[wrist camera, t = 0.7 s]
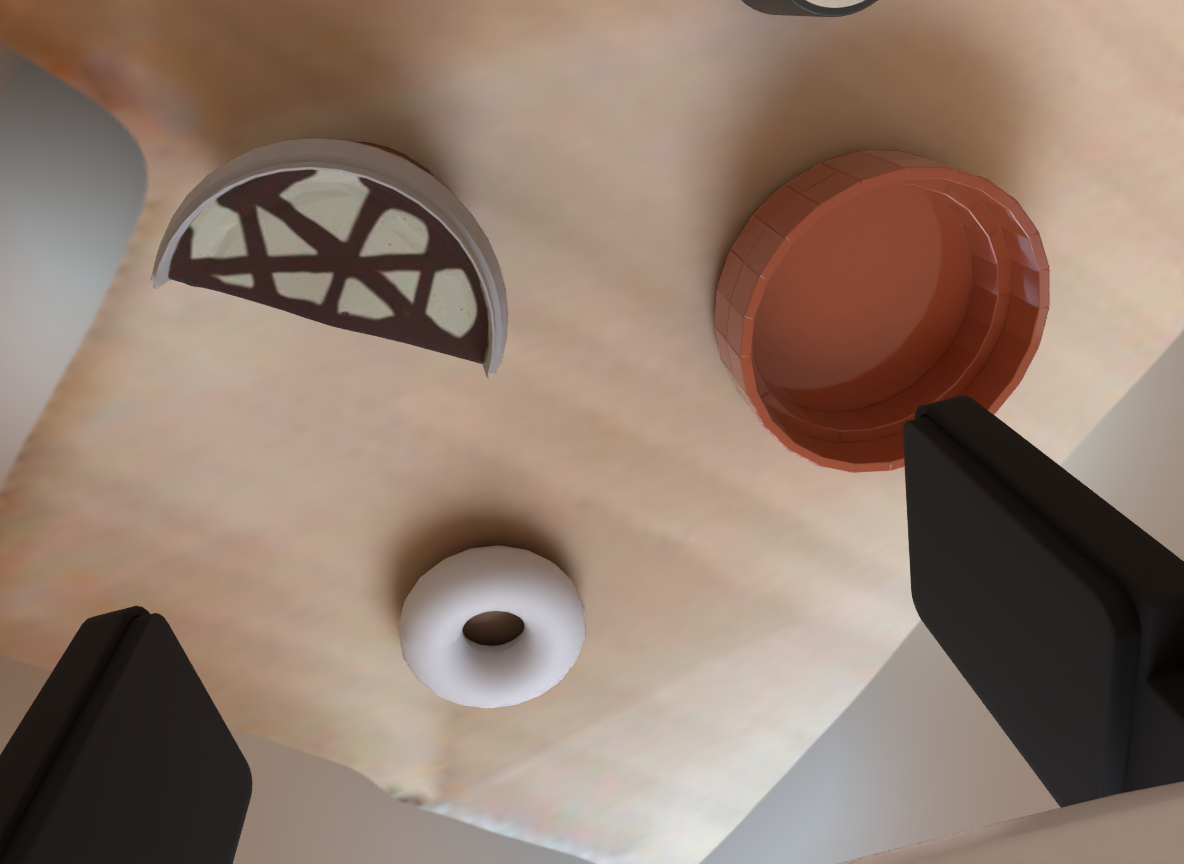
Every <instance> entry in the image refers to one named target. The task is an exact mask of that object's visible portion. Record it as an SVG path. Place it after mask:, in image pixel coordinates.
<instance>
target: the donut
mask: <svg viewBox="0 0 1184 864" xmlns="http://www.w3.org/2000/svg"><path fill="white" fill-rule="evenodd" d="M489 611H504V612H509V613H512V614H514V615H516V616H518V617H520V618H521V619H522V620H523V622H524V626H525V627H524V630H523V632H522V633H521V635H519V636H518V637H517V638H515V639H514V640H512V641H510V642H507V643H505V644H502V645H494V646H488V645H480V644H477V643H475V642H473V641H470V640H469V639H468V638H466V637H465V635H464V633H463V631H462V628H463V626H464V625H465V623H466V622H467V621H468V620H469V619H471V618H472V617H473V616H476V615H478V614H481V613H483V612H489ZM398 630H399V637H400V642H401V648H402V654H403V658H404V660H405V661H406V663H407V664H408V666H409V667H410V669H411V670H412V672H413V674H414V675H415V677H416V678H417V679H418V681H419V682H421V683H422V684H423V685H424V686H426V687H427V688H428V689H430V690H431V691H432V692H433V693H435V694H436V695H437V696H439V697H442V698H444V699H447V700H449V701H452V702H455V703H457V704H460V705H463V706H472V707H481V708H495V707H503V706H511V705H516V704H519V703H522V702H524V701H527V700H530V699H532V698H535V697H537V696H540V695H541V694H543V693H544V692H546V691H547V690H548V689H550V688H551V687H553V686H554V685H556V684H557V683H558V682H560V681H561V680H562V678H563V677H564V676H565V675H566V673H567V672H568V671H569V669H570V668H571V667H572V666H573V664H574V663H575V662H576V660H577V658H578V656H579V653H580V650H581V647H582V644H583V641H584V639H585V635H586V625H585V607H584V604H583V602H582V600H581V598H580V596H579V594H578V592H577V590H576V588H575V586H574V584H573V581H572V580H571V579H570V578H569V577H568V576H567V575H566V574H565V573H564V572H563V571H562V570H561V569H560V568H559V567H558V566H556V565H555V564H554V563H553V562H551V561H550V560H547V559H545V558H543V557H541V556H539V555H537V554H535V553H532V552H530V551H528V550H525V549H519V548H513V547H506V546H500V545H498V546H489V547H479V548H471V549H468V550H466V551H463V552H460V553H458V554H455V555H453V556H450V557H448V558H445V559H444V560H442V561H441V562H440V563H438V564H437V565H436V566H434V567H433V568H432V569H431V570H429V571H428V572H427V573H425V574H424V575H423V576H421V577H420V578H419V580H418V581H417V583H416V584H415V586H414V587H413V589H412V590H411V592H410V593H409V595H408V596H407V598H406V599H405V602H404V605H403V609H402V614H401V618H400V622H399V627H398Z"/></svg>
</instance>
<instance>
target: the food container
mask: <svg viewBox="0 0 1184 864" xmlns="http://www.w3.org/2000/svg"><path fill="white" fill-rule="evenodd" d="M171 279H172V280H175V281H179V282H183V283H185V284H188V285H190V286H195V287H202V288H207V289H211V290H215V291H219V292H223V293H226V294H230V295H233V296H237V297H240V298H244V299H247V300H251V301H254V302H257V303H261V304H264V305H267V306H271V307H274V308H277V309H280V310H284V311H287V312H290V313H293V314H296V315H298V316H301V317H304V318H308V319H311V320H314V321H317V322H320V323H323V324H326V325H330V326H333V327H337V328H342V329H346V330H350V331H355V332H359V333H364V334H369V335H373V336H378V337H382V338H386V339H390V340H394V341H399V342H403V343H407V344H411V345H414V346H418V347H422V348H425V349H429V350H433V351H436V352H440V353H444V354H448V355H451V356H455V357H459V358H462V359H466V360H470V361H473V362H477V363H481V364H483V367H484V370H485V373H486V376H487V378H488V379H489V378H490V373H495V374H496V372H497V370H498V368H499V366H500V364H501V362H502V357H503V353H504V348H505V344H506V339H507V324H508V308H507V298H506V288H505V285H504V281H503V277H502V273H501V270H500V266H499V263H498V260H497V258H496V256H495V254H494V251H493V249H492V247H491V245H490V242H489V240H488V238H487V237H486V235H485V234H484V232H483V230H482V229H481V227H480V226H479V224H478V223H477V221H476V220H475V218H474V217H473V215H472V214H471V213H470V212H469V211H468V209H467V208H466V207H465V206H464V205H463V204H462V203H461V202H460V200H459V199H458V198H457V197H456V196H455V195H454V194H453V193H452V192H451V191H450V190H448V189H447V188H446V187H445V186H444V185H442V184H441V183H440V182H439V181H438V180H436V179H435V178H434V176H433V175H432V174H431V173H430V172H429V171H428V170H427V169H426V168H424V167H423V166H421V165H420V164H418V163H417V162H415V161H414V160H412V159H411V158H409V157H408V156H406V155H405V154H403V153H400V152H398V151H395V150H393V149H391V148H388V147H385V146H381V145H377V144H373V143H366V142H353V141H347V140H335V139H323V138H310V139H297V140H286V141H282V142H278V143H274V144H270V145H266V146H262V147H258V148H256V149H253V150H251V151H249V152H247V153H244V154H242V155H240V156H237V157H235V158H233V159H231V160H229V161H228V162H226V163H225V164H224V165H222V166H221V167H219V168H218V169H216V170H215V171H213V172H212V173H210V174H209V175H207V176H206V177H205V178H204V179H203V180H202V181H201V182H200V183H199V184H198V185H197V186H196V187H195V188H194V189H193V190H192V191H191V192H190V193H189V194H188V195H187V197H186V198H185V199H184V201H183V202H182V204H181V205H180V207H179V208H178V209H177V211H176V212H175V214H174V215H173V217H172V218H171V221H170V223H169V225H168V227H167V230H166V232H165V234H164V236H163V239H162V241H161V243H160V247H159V250H158V253H157V256H156V260H155V264H154V268H153V272H152V276H151V280H153V281H154V285H153V288H155V289H156V288H157V287H159V286H161V285H162V284H164V283H166V282H167V281H169V280H171Z"/></svg>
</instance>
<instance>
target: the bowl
mask: <svg viewBox="0 0 1184 864" xmlns="http://www.w3.org/2000/svg"><path fill="white" fill-rule="evenodd" d="M717 287H718V288H717V293H716V306H715V319H714V324H715V325H714V327H715V332H716V337H717V342H718V347H719V352H720V358H721V360H722V362H723V364H724V366H725V368H726V370H727V372H728V374H729V375H730V377H731V379H732V381H733V383H734V385H735V387H736V388H737V390H738V391H739V393H740V394H741V395H742V397H743V398H744V400H745V401H746V402H747V404H748V405H749V407H750V408H751V410H752V411H753V412H754V414H755V415H756V417H757V418H758V419H759V421H760V422H761V424H762V425H763V426H764V428H765V429H767V430H768V431H769V432H770V433H771V434H772V435H773V436H774V437H775V438H776V439H777V440H778V441H779V442H780V443H781V444H782V445H783V446H784V447H785V448H786V449H787V450H788V451H790V452H792V453H794V454H796V455H798V456H800V457H802V458H804V459H806V460H808V461H810V462H812V463H814V464H816V465H819V466H822V467H827V468H832V469H837V470H842V471H847V472H854V473H856V472H873V471H889V470H894V469H897V468H901V467H904V466H905V462H904V444H903V427H904V424H905V423H906V422H907V421H910V420H914V419H915V413H916V410H917V408H918V407H919V406H922V405H926V404H930V403H934V402H937V401H941V400H945V399H949V398H953V397H957V396H961V395H967V396H969V397H971V398H973V399H974V400H975V401H976V402H978V403H979V404H980V405H982V406H983V407H984V408H985V409H987V410H988V411H989V412H991V413H992V414H993V415H994V414H995V413H996V412H997V411H998V410H999V408H1000V407H1001V406H1002V405H1003V403H1004V402H1005V401H1006V400H1007V399H1008V397H1009V396H1010V395H1011V394H1012V392H1013V391H1014V390H1015V389H1016V387H1017V386H1018V385H1019V384H1020V382H1021V381H1022V379H1023V377H1024V375H1025V373H1026V371H1027V369H1028V367H1029V365H1030V363H1031V361H1032V359H1033V357H1034V355H1035V353H1036V351H1037V350H1038V348H1039V345H1040V342H1041V338H1042V334H1043V330H1044V326H1045V322H1046V318H1047V314H1048V310H1049V265H1048V261H1047V258H1046V255H1045V251H1044V248H1043V245H1042V241H1041V238H1040V235H1039V232H1038V230H1037V228H1036V227H1035V226H1034V224H1033V223H1032V221H1031V220H1030V218H1029V217H1028V216H1027V214H1026V213H1025V211H1024V210H1023V208H1022V207H1021V206H1020V204H1019V203H1018V201H1016V199H1014V198H1013V197H1011V196H1010V195H1009V194H1007V193H1006V192H1004V191H1003V190H1002V189H1000V188H999V187H997V186H996V185H995V184H993V183H992V182H990V181H989V180H988V179H986V178H984V177H981V176H978V175H975V174H972V173H969V172H966V171H963V170H960V169H957V168H954V167H951V166H948V165H945V164H942V163H939V162H936V161H933V160H930V159H926V158H923V157H920V156H916V155H913V154H910V153H906V152H903V151H861V152H860V151H858V152H854V153H851V154H847V155H844V156H841V157H837V158H834V159H830V160H827V161H823V162H821V163H819V164H817V165H815V166H813V167H812V168H810V169H808V170H807V171H805V172H803V173H802V174H800V175H798V176H797V177H795V178H793V179H791V180H790V181H788V182H786V183H785V184H784V185H782V186H781V187H780V188H779V189H778V190H777V191H776V192H775V193H774V194H773V195H772V196H771V197H770V198H769V199H768V200H767V201H766V202H765V203H764V204H762V205H761V206H760V207H759V208H758V209H757V210H756V211H755V212H754V213H753V215H752V216H751V218H750V219H749V221H748V222H747V224H746V226H745V227H744V229H743V230H742V232H741V233H740V235H739V236H738V238H737V240H736V241H735V243H734V244H733V246H732V247H731V250H730V251H729V253H728V256H727V259H726V262H725V265H724V268H723V271H722V274H721V277H720V280H719V283H718V286H717Z"/></svg>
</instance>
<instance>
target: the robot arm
mask: <svg viewBox="0 0 1184 864" xmlns="http://www.w3.org/2000/svg"><path fill="white" fill-rule="evenodd" d="M903 444H904V462H905V481H906V500H907V519H908V537H909V556H910V575H911V591H912V598H913V602H914V605H915V608H916V610H917V612H918V614H919V617H920V618H921V620H922V621H923V623H924V624H925V625H926V627H927V628H928V629H929V631H930V632H931V633H932V635H933V636H934V637H935V639H936V640H937V641H938V643H939V644H940V646H941V647H942V648H943V650H944V651H945V652H946V654H947V655H948V656H949V658H950V659H951V660H952V662H953V663H954V664H955V666H956V667H957V669H958V670H959V671H960V673H961V674H962V675H963V677H964V678H965V679H966V680H967V682H968V683H969V685H970V686H971V687H972V689H973V690H974V691H975V693H976V694H977V695H978V697H979V698H980V699H981V701H982V702H983V704H984V705H985V706H986V708H987V709H988V710H989V711H990V713H991V714H992V716H993V717H994V718H995V720H996V721H997V722H998V724H999V725H1000V726H1001V728H1002V729H1003V730H1004V732H1005V733H1006V734H1007V736H1008V737H1009V739H1010V740H1011V741H1012V742H1013V744H1014V745H1015V747H1016V748H1017V749H1018V751H1019V752H1020V753H1021V755H1022V756H1023V757H1024V759H1025V760H1026V761H1027V763H1028V764H1029V765H1030V767H1031V768H1032V769H1033V771H1034V772H1035V773H1036V775H1037V776H1038V778H1039V779H1040V780H1041V782H1042V783H1043V784H1044V785H1045V787H1046V788H1047V790H1048V791H1049V792H1050V794H1051V795H1052V796H1053V798H1054V799H1055V800H1056V802H1057V803H1058V804H1059V806H1060V807H1061V808H1058V809H1054V810H1050V811H1046V812H1041V813H1037V814H1033V815H1029V816H1025V817H1021V818H1017V819H1012V820H1009V821H1004V822H1000V823H996V824H992V825H987V826H984V827H979V828H975V829H971V830H967V831H962V832H958V833H955V834H951V835H947V836H943V837H940V838H936V839H931V840H928V841H924V842H920V843H916V844H912V845H908V846H905V847H901V848H897V849H893V850H889V851H885V852H881V853H878V854H874V855H870V856H866V857H862V858H858V859H854V860H851V861H847V862H843V863H839V864H1184V561H1182V560H1181V559H1179V558H1178V557H1177V556H1176V555H1174V554H1173V553H1172V552H1171V551H1169V550H1168V549H1167V548H1166V547H1164V546H1163V545H1162V544H1160V543H1159V542H1158V541H1157V540H1155V539H1154V538H1153V537H1151V536H1150V535H1148V534H1147V533H1146V532H1145V531H1143V530H1142V529H1141V528H1140V527H1138V526H1137V525H1136V524H1134V523H1133V522H1132V521H1131V520H1129V519H1128V518H1127V517H1125V516H1124V515H1123V514H1122V513H1120V512H1119V511H1117V510H1116V509H1115V508H1114V507H1112V506H1111V505H1110V504H1109V503H1107V502H1106V501H1105V500H1103V499H1102V498H1101V497H1099V496H1098V495H1097V494H1096V493H1094V492H1093V491H1092V490H1090V489H1089V488H1088V487H1087V486H1085V485H1084V484H1082V483H1081V482H1080V481H1079V480H1077V479H1076V478H1075V477H1073V476H1072V475H1071V474H1070V473H1068V472H1067V471H1066V470H1065V469H1063V468H1062V467H1061V466H1059V465H1058V464H1057V463H1055V462H1054V461H1053V460H1052V459H1050V458H1049V457H1048V456H1046V455H1045V454H1044V453H1042V452H1041V451H1040V450H1039V449H1037V448H1036V447H1035V446H1033V445H1032V444H1031V443H1030V442H1028V441H1027V440H1026V439H1024V438H1023V437H1022V436H1020V435H1019V434H1018V433H1017V432H1015V431H1014V430H1013V429H1011V428H1010V427H1009V426H1008V425H1006V424H1005V423H1004V422H1002V421H1001V420H1000V419H998V418H997V417H996V416H995V415H993V414H992V413H991V412H989V411H988V410H987V409H985V408H984V407H983V406H982V405H980V404H979V403H978V402H976V401H975V400H974V399H973V398H971V397H969V396H967V395H961V396H957V397H953V398H949V399H945V400H941V401H937V402H934V403H930V404H926V405H922V406H919V407H918V408H917V410H916V413H915V419H914V420H910V421H907V422H906V423H905V424H904V427H903ZM251 793H252V775H251V771H250V768H249V765H248V763H247V761H246V759H245V758H244V756H243V754H242V752H241V751H240V749H239V747H238V745H237V743H236V742H235V740H234V738H233V736H232V735H231V733H230V731H229V729H228V728H227V726H226V724H225V722H224V721H223V719H222V717H221V715H220V714H219V712H218V710H217V708H216V706H215V705H214V703H213V701H212V699H211V698H210V696H209V694H208V692H207V691H206V689H205V687H204V685H203V684H202V682H201V680H200V678H199V677H198V675H197V673H196V671H195V670H194V668H193V666H192V664H191V663H190V661H189V659H188V657H187V655H186V654H185V652H184V650H183V648H182V647H181V645H180V643H179V641H178V640H177V638H176V636H175V634H174V633H173V631H172V629H171V627H170V626H169V624H168V622H167V621H166V619H165V618H164V617H163V616H162V615H160V614H157V613H154V614H150V613H149V612H148V611H147V610H146V609H144V608H143V607H140V606H134V607H130V608H126V609H122V610H118V611H114V612H110V613H106V614H102V615H98V616H94V617H91V618H89V619H87V620H86V621H85V622H84V623H83V624H82V625H81V627H80V629H79V630H78V632H77V633H76V635H75V637H74V638H73V640H72V641H71V643H70V645H69V646H68V648H67V649H66V651H65V653H64V654H63V656H62V657H61V659H60V660H59V662H58V664H57V665H56V667H55V668H54V670H53V672H52V673H51V675H50V677H49V678H48V680H47V681H46V683H45V685H44V686H43V688H42V689H41V691H40V693H39V694H38V696H37V697H36V699H35V700H34V702H33V704H32V705H31V707H30V708H29V710H28V712H27V713H26V715H25V716H24V718H23V720H22V721H21V723H20V724H19V726H18V728H17V729H16V731H15V732H14V734H13V736H12V737H11V739H10V740H9V742H8V744H7V745H6V747H5V748H4V750H3V752H2V753H1V755H0V864H233V860H234V857H235V853H236V849H237V845H238V842H239V838H240V835H241V831H242V827H243V824H244V820H245V817H246V813H247V809H248V806H249V802H250V798H251Z"/></svg>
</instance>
